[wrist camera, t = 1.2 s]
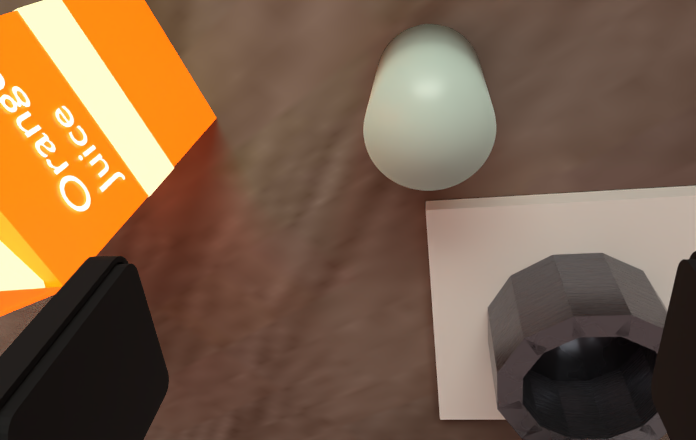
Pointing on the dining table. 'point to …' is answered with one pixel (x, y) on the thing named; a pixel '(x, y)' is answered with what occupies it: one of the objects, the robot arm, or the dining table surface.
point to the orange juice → (83, 133)
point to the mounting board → (527, 249)
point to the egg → (429, 110)
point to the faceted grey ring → (577, 350)
